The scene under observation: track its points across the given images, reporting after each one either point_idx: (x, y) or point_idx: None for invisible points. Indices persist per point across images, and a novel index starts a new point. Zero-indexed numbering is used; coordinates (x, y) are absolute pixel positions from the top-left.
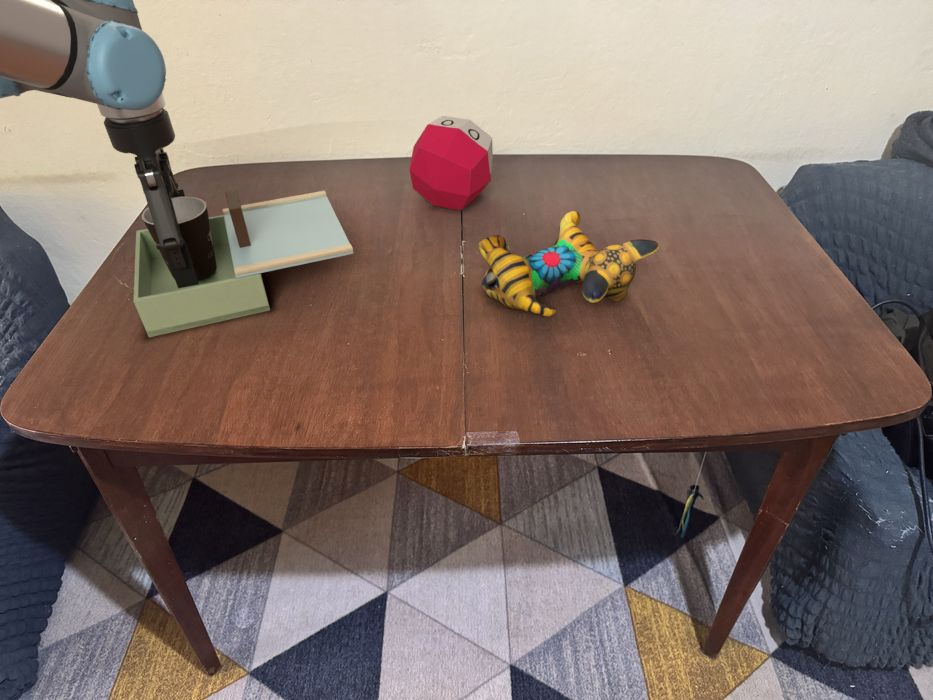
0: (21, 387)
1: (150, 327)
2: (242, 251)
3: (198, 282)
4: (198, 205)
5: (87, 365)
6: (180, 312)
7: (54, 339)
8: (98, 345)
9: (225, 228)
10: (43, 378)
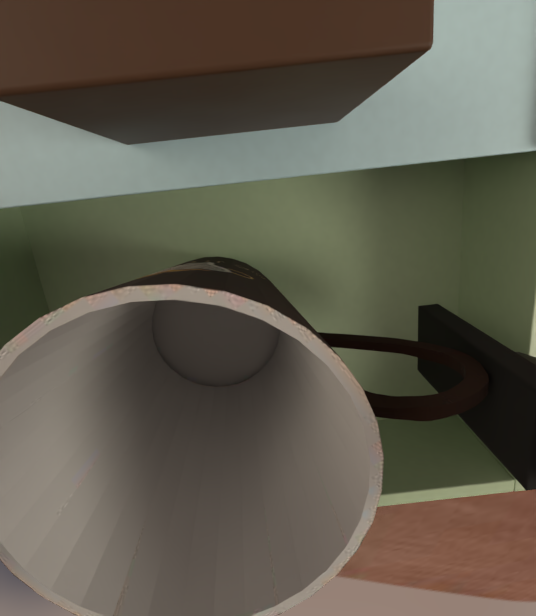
0: (513, 595)
1: None
2: (378, 107)
3: (434, 305)
4: (47, 344)
5: (500, 509)
6: None
7: (375, 580)
8: (435, 503)
9: None
10: (503, 570)
